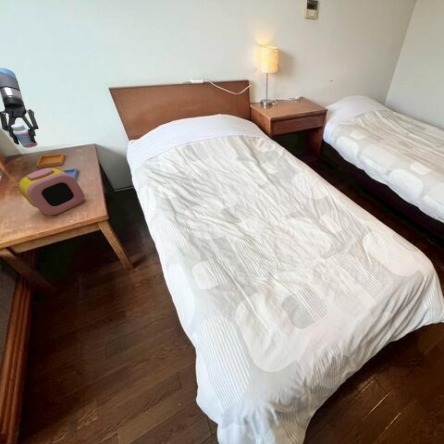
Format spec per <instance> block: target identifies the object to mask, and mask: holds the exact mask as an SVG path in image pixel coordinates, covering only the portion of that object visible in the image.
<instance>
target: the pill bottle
mask: <svg viewBox="0 0 444 444" xmlns="http://www.w3.org/2000/svg"><path fill="white" fill-rule="evenodd" d="M11 127H12V129H14V131H13V133H14V134H15V136H16V137H17V139H18V141H19V144H20V145H21V146H22V148H24V149H31V148H35V147H37V146H38V145H39V144H38V141H36V143H33V142H31V140H30V136H29V133H28V129H29V128H26V127H25V125H24V124H23V123H15V124H14V125H12V126H11Z"/></svg>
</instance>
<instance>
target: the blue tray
mask: <svg viewBox="0 0 444 444" xmlns="http://www.w3.org/2000/svg"><path fill="white" fill-rule="evenodd" d="M62 170H63V171H64V172H65V173H67V174H69V175H72V176H73V177H74V178H75V180H76V181H77V178H78V175H79V169H78V168H77V167H75V168H69V169H62Z"/></svg>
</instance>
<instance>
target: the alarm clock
mask: <svg viewBox="0 0 444 444" xmlns="http://www.w3.org/2000/svg"><path fill="white" fill-rule="evenodd" d="M63 170H64V169H61V168H59V167H44V168H41V169H38V170H36V171H34V172H31V173H29V174H27V175H25V176H23V177H21V179H20V180H19V181H18V183H17V189H18V191H19V192H20V194H22V196H23V197H24V199H25V200H26V201H27V202H28V203H29V204H30V205H31V206H32V207H34V208H36V209H38V210H39V211H40V212H41V213H42V214H45V215H49V216H55V215H59V214H61V213H64V212H65V211H68V210H70V209H72V208H74V207H76V206H78V205H79V204H81V203H82V202H83V200H84V199H85V193H84V190H83V189H82V188H81V185H80V184H79V183H78V181H77V179H76V180H75V178H74V177H73V176H72V175H69V174H67V173H65V172H64V171H63Z"/></svg>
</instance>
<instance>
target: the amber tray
mask: <svg viewBox="0 0 444 444" xmlns="http://www.w3.org/2000/svg"><path fill="white" fill-rule="evenodd" d="M65 158H66V155H65V153H63V152H61V153H55V154H54V153H53V154H45V155H40V156H39V157H38V160H37V162H36V164H35V166H36V167H37V168H38V169H44V168H52V167H58V166H63V164H64V161H65Z"/></svg>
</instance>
